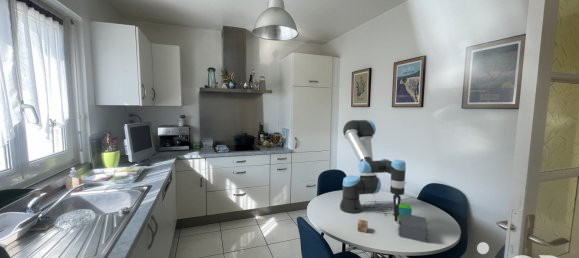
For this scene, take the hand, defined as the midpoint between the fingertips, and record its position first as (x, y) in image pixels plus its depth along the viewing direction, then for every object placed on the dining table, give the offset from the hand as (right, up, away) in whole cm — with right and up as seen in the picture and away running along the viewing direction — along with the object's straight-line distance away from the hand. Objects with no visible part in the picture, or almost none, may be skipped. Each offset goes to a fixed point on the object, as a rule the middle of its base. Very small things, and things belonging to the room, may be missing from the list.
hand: (395, 225), depth 139 cm
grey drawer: (+7, -3, -3) cm, 8 cm away
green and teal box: (+12, -2, +15) cm, 19 cm away
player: (+9, -3, -3) cm, 10 cm away
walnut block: (-20, -3, 0) cm, 20 cm away
